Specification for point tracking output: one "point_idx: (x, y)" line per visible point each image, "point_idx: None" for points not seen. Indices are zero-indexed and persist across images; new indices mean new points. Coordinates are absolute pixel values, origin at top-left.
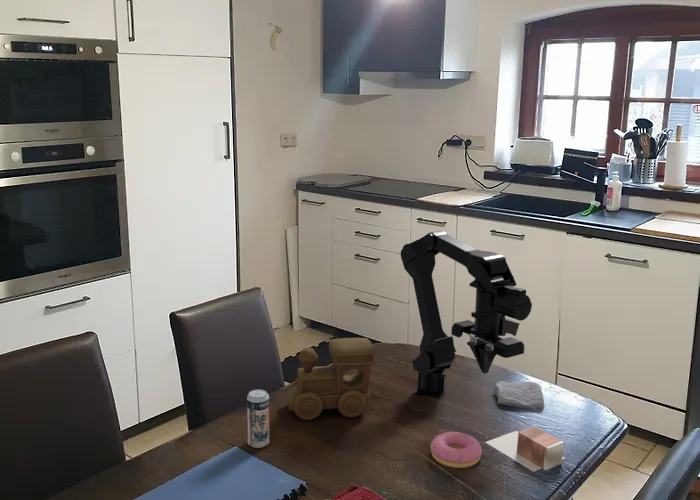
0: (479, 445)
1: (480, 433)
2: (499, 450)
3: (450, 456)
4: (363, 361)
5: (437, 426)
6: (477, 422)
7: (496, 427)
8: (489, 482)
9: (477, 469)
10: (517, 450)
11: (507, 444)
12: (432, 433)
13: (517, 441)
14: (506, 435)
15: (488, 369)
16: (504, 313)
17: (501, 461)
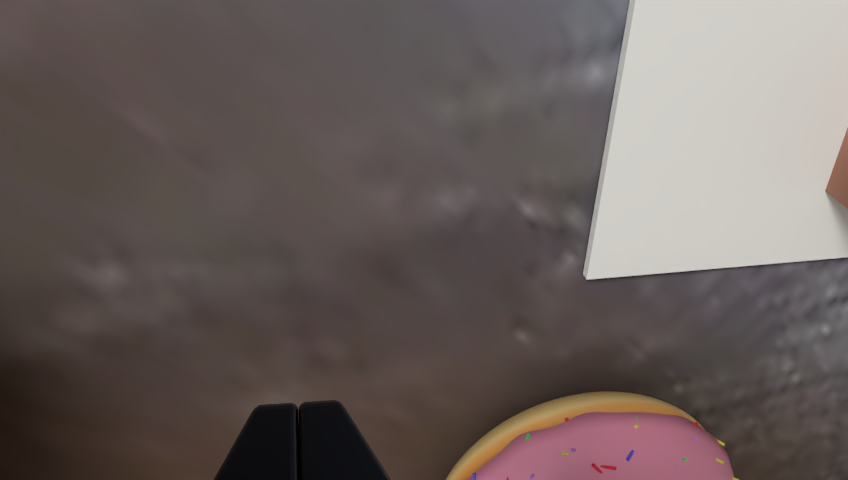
0: (711, 472)
1: (461, 212)
2: (720, 264)
3: None
4: None
5: (201, 408)
6: (300, 113)
7: (469, 24)
8: (825, 460)
9: None
10: (845, 201)
11: (718, 166)
12: None
13: (753, 64)
14: (636, 74)
15: (371, 468)
16: None
17: (780, 313)
